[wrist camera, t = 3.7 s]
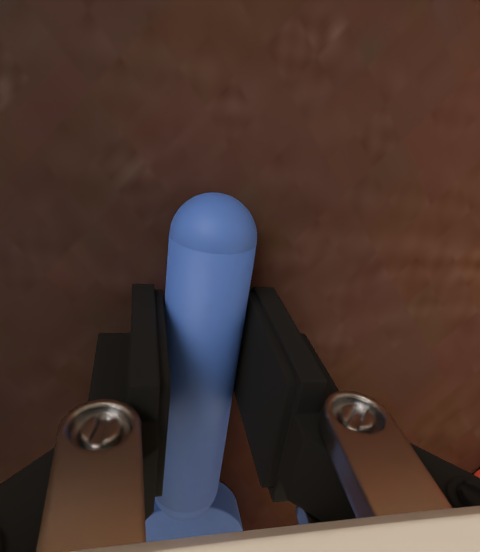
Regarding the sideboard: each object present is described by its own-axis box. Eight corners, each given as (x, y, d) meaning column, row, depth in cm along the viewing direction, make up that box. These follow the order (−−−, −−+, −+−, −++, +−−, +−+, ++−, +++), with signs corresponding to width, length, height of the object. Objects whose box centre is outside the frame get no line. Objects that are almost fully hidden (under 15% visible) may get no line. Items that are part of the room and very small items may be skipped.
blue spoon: (115, 174, 10) (111, 199, 8) (298, 190, 11) (328, 215, 9) (110, 564, 16) (107, 627, 14) (229, 550, 17) (240, 607, 15)
